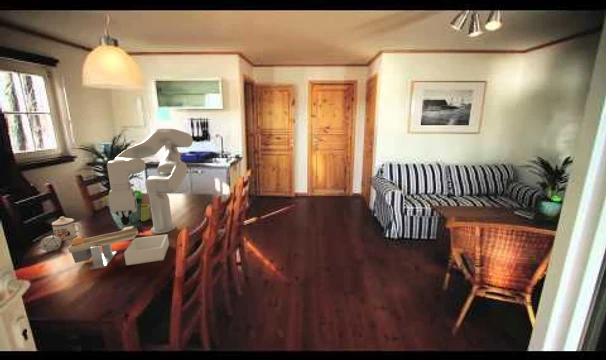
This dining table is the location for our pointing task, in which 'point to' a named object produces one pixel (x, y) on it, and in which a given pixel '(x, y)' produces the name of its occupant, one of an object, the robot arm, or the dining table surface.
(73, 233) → the teacup with lid
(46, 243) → the game die
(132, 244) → the bin
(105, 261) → the lever stand
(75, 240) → the ball
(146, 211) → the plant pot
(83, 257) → the lever
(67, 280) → the dining table surface
